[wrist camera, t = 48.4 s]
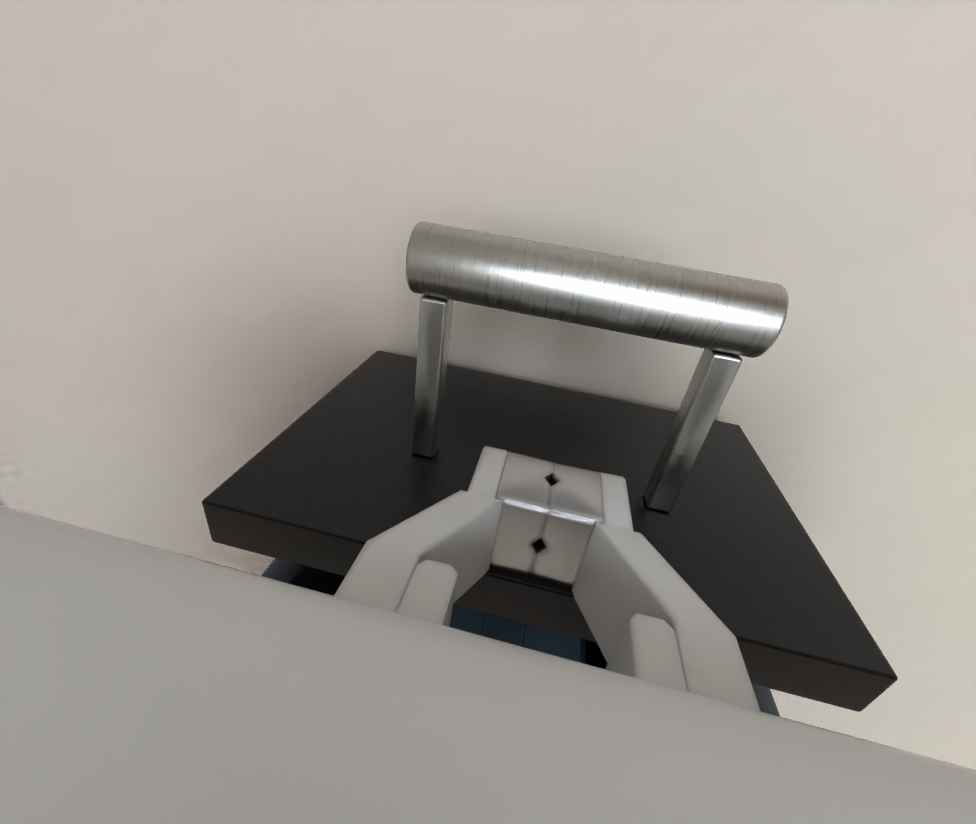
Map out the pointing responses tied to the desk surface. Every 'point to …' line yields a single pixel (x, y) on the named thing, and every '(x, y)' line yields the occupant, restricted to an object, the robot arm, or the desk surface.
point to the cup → (518, 634)
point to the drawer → (565, 458)
